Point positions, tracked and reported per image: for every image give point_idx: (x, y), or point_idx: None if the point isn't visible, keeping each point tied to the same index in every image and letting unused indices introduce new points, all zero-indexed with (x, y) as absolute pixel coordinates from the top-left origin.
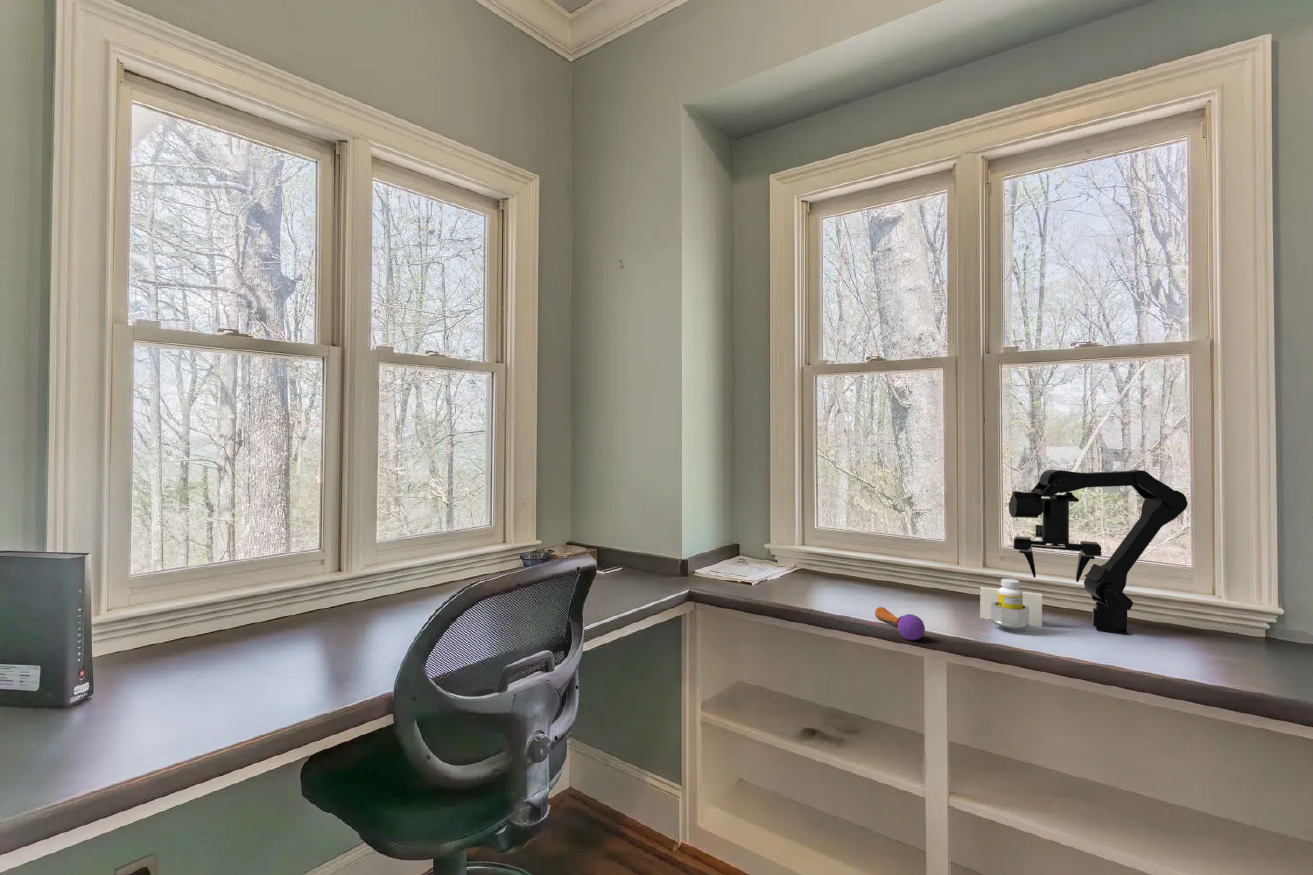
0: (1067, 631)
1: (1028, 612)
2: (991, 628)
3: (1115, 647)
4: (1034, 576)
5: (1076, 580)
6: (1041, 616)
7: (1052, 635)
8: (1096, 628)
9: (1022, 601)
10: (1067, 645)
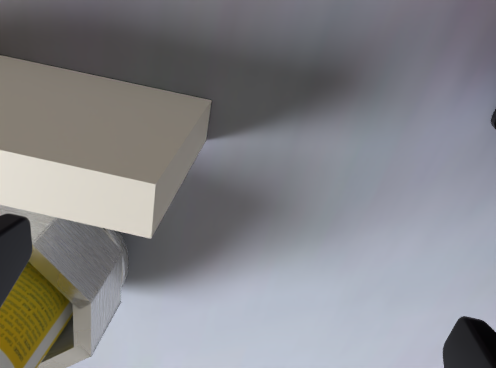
0: (313, 183)
1: (95, 345)
2: None
3: (427, 346)
4: (14, 266)
5: (444, 364)
6: (191, 163)
7: (226, 263)
8: (494, 120)
9: (42, 354)
10: (251, 360)
